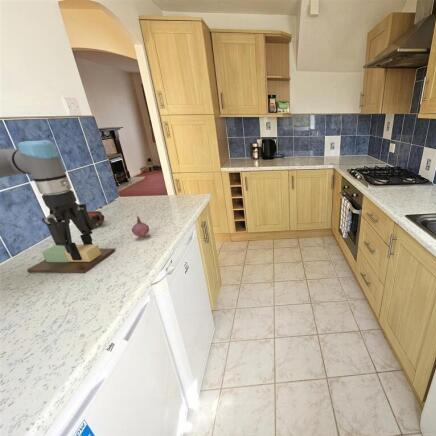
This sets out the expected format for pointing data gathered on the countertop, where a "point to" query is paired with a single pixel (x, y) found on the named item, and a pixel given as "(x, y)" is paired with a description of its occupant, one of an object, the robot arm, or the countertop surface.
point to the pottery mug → (96, 218)
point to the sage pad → (55, 254)
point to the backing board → (70, 264)
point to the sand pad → (85, 253)
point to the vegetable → (140, 228)
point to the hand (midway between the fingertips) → (84, 255)
